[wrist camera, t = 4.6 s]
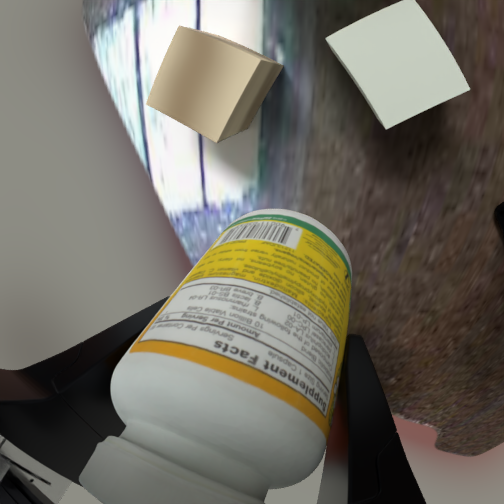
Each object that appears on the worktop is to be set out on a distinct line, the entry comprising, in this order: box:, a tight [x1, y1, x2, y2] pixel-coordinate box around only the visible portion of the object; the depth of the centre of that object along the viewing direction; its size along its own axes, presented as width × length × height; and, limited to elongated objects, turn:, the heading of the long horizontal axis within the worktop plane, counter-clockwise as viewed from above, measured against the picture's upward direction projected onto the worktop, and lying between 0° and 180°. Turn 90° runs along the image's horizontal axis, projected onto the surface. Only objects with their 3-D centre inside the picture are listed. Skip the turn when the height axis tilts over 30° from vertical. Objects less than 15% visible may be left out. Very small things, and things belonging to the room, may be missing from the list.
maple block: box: [146, 26, 283, 143], centre depth 15 cm, size 5×5×5 cm
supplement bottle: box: [79, 209, 352, 504], centre depth 7 cm, size 5×5×10 cm
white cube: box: [325, 0, 470, 129], centre depth 11 cm, size 5×5×5 cm
